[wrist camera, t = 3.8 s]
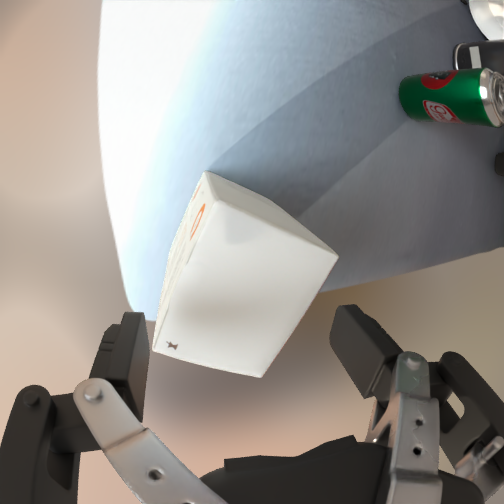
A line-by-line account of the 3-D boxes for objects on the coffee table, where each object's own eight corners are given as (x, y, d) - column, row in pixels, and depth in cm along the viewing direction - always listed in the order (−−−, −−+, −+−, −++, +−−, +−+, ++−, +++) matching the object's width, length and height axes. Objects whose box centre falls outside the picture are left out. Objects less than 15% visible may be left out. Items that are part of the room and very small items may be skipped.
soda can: (393, 112, 23) (488, 114, 12) (396, 69, 21) (487, 55, 10) (425, 127, 24) (514, 138, 13) (429, 87, 22) (514, 85, 11)
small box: (232, 276, 26) (261, 381, 14) (168, 252, 24) (147, 353, 12) (272, 198, 24) (344, 256, 12) (204, 167, 22) (212, 195, 10)
